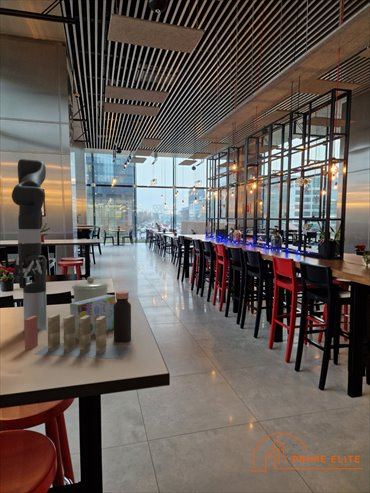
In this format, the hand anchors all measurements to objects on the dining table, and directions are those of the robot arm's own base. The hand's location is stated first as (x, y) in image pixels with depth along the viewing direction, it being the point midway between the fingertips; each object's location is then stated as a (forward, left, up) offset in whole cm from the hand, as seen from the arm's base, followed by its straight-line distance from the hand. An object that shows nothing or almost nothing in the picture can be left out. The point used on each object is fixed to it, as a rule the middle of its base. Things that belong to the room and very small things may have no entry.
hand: (30, 286), depth 115 cm
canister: (-38, +25, -24) cm, 52 cm away
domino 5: (+14, +23, -23) cm, 35 cm away
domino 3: (+8, +13, -23) cm, 27 cm away
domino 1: (0, 0, -24) cm, 24 cm away
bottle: (+5, +33, -24) cm, 41 cm away
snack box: (-11, +24, -24) cm, 36 cm away
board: (+11, +18, -24) cm, 32 cm away
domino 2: (+5, +8, -23) cm, 24 cm away
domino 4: (+11, +18, -23) cm, 31 cm away
